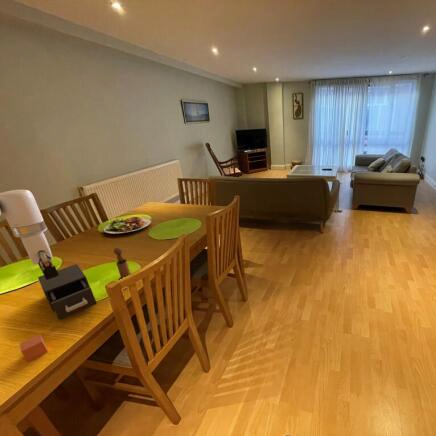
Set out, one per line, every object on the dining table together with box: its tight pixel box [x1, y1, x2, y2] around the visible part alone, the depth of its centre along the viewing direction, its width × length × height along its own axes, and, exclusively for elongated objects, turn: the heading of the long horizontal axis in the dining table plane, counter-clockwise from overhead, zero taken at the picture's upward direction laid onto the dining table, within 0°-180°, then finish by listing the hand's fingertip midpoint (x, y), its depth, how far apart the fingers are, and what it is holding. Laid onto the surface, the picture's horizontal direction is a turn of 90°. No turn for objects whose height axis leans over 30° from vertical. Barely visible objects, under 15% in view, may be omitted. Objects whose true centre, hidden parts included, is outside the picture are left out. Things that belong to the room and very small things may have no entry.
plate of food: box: [103, 216, 152, 234], centre depth 165 cm, size 28×28×6 cm
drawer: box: [49, 280, 98, 322], centre depth 93 cm, size 18×11×8 cm, turn 51°
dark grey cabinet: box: [37, 263, 91, 313], centre depth 100 cm, size 15×13×10 cm
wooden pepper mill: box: [113, 246, 132, 281], centre depth 107 cm, size 7×6×18 cm
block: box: [19, 333, 48, 363], centre depth 76 cm, size 5×5×5 cm
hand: (49, 272), depth 84 cm, fingers open, 9 cm apart
